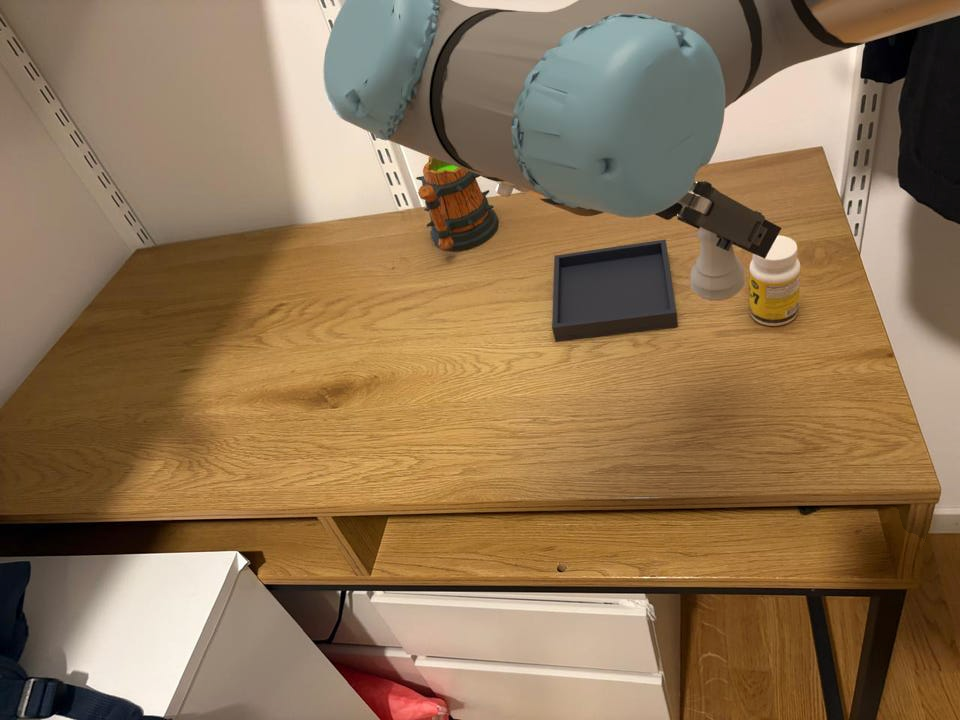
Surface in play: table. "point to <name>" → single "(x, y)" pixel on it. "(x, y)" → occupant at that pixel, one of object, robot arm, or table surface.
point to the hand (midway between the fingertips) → (749, 233)
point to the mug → (456, 207)
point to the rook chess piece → (716, 270)
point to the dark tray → (613, 291)
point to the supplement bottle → (775, 284)
